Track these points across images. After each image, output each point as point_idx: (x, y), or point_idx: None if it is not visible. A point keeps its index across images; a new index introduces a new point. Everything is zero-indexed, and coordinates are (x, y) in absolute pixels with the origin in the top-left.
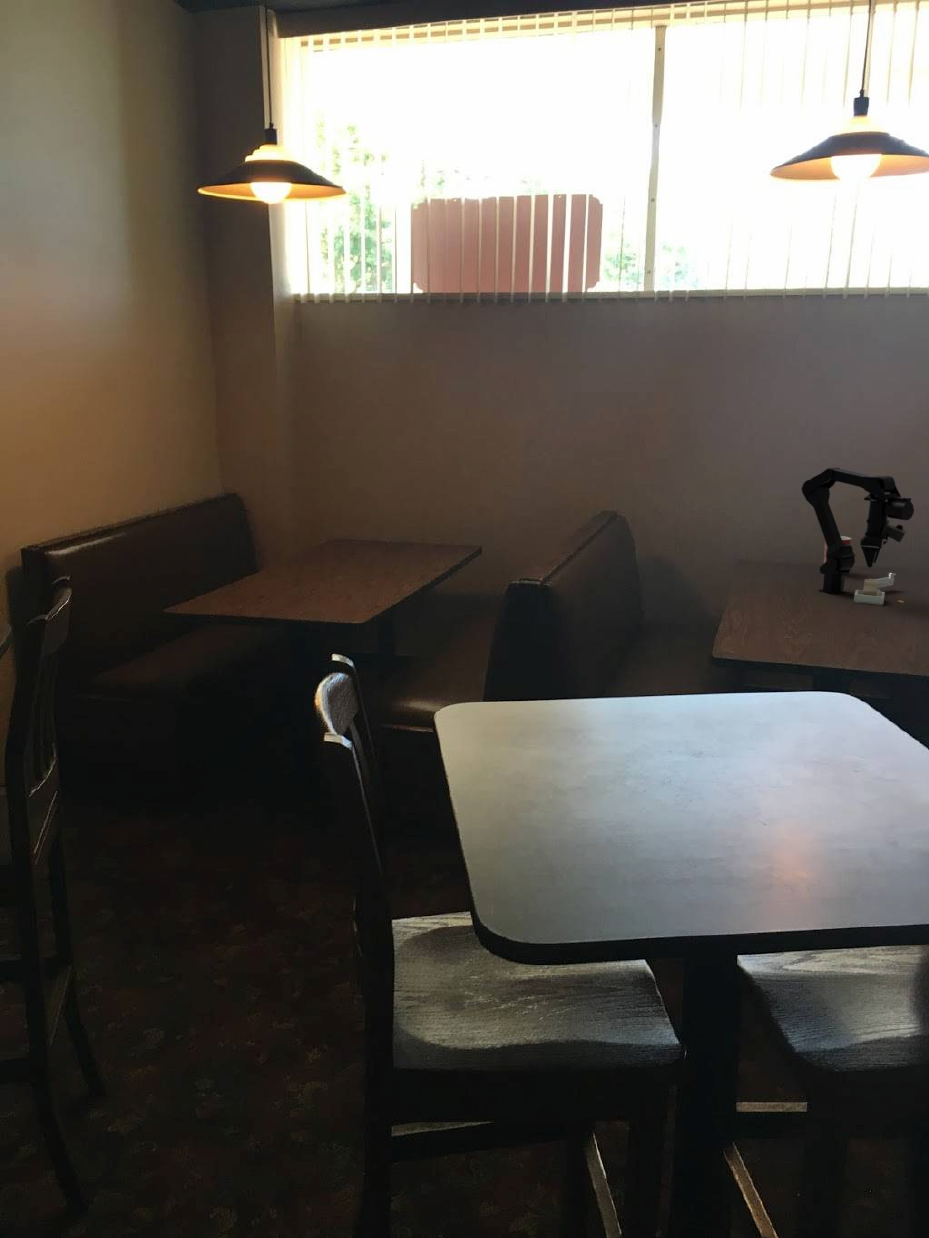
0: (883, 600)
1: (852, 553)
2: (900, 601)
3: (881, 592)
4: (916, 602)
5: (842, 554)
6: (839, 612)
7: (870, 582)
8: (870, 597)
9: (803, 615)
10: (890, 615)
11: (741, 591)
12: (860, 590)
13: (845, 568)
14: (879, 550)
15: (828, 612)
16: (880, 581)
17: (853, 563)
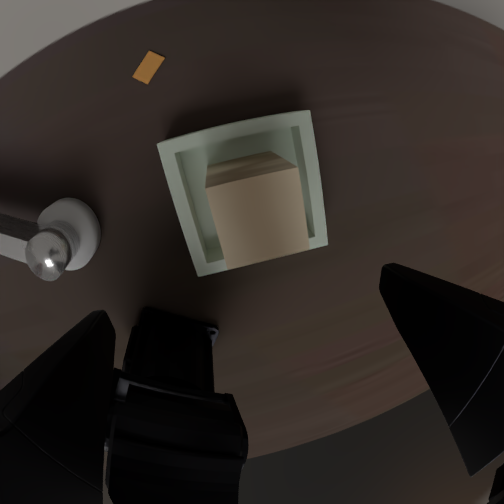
0: (304, 110)
1: (124, 461)
2: (155, 66)
3: (175, 155)
4: (120, 17)
5: (224, 477)
6: (468, 222)
7: (304, 213)
8: (317, 173)
9: (498, 274)
10: (445, 76)
11: (328, 434)
12: (204, 254)
13: (183, 398)
14: (35, 398)
15: (473, 245)
16: (14, 233)
17: (132, 402)
